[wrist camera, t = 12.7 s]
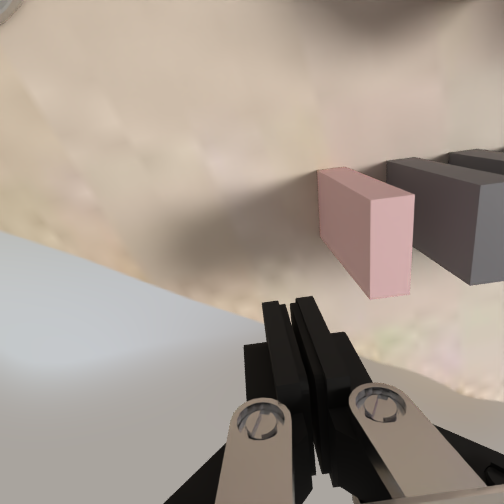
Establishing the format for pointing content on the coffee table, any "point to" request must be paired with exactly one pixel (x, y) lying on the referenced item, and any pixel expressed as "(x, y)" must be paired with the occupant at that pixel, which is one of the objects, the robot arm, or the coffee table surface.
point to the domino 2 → (479, 160)
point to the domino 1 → (455, 216)
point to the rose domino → (368, 229)
